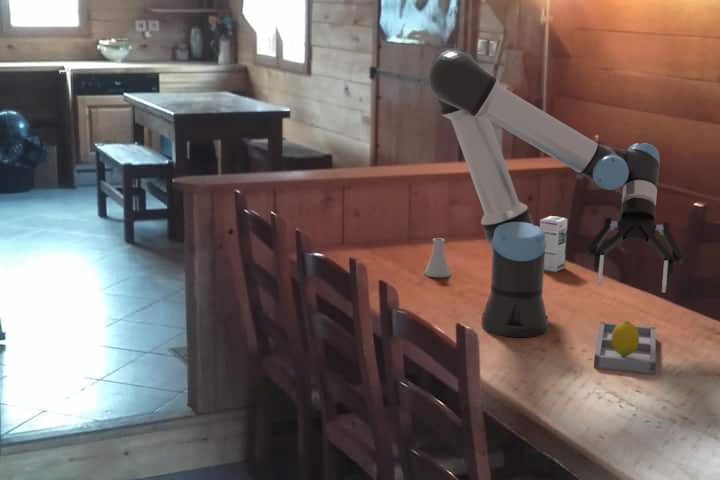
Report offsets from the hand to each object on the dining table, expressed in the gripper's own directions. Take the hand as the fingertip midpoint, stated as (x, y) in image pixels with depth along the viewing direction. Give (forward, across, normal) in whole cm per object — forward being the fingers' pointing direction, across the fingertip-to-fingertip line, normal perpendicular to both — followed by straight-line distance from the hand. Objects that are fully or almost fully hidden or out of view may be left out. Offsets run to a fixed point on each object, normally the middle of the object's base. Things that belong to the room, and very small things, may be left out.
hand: (631, 286), depth 212 cm
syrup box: (-30, +22, -50) cm, 62 cm away
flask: (-18, +51, -38) cm, 66 cm away
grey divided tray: (+14, 0, -5) cm, 14 cm away
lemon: (+17, 0, 0) cm, 17 cm away
